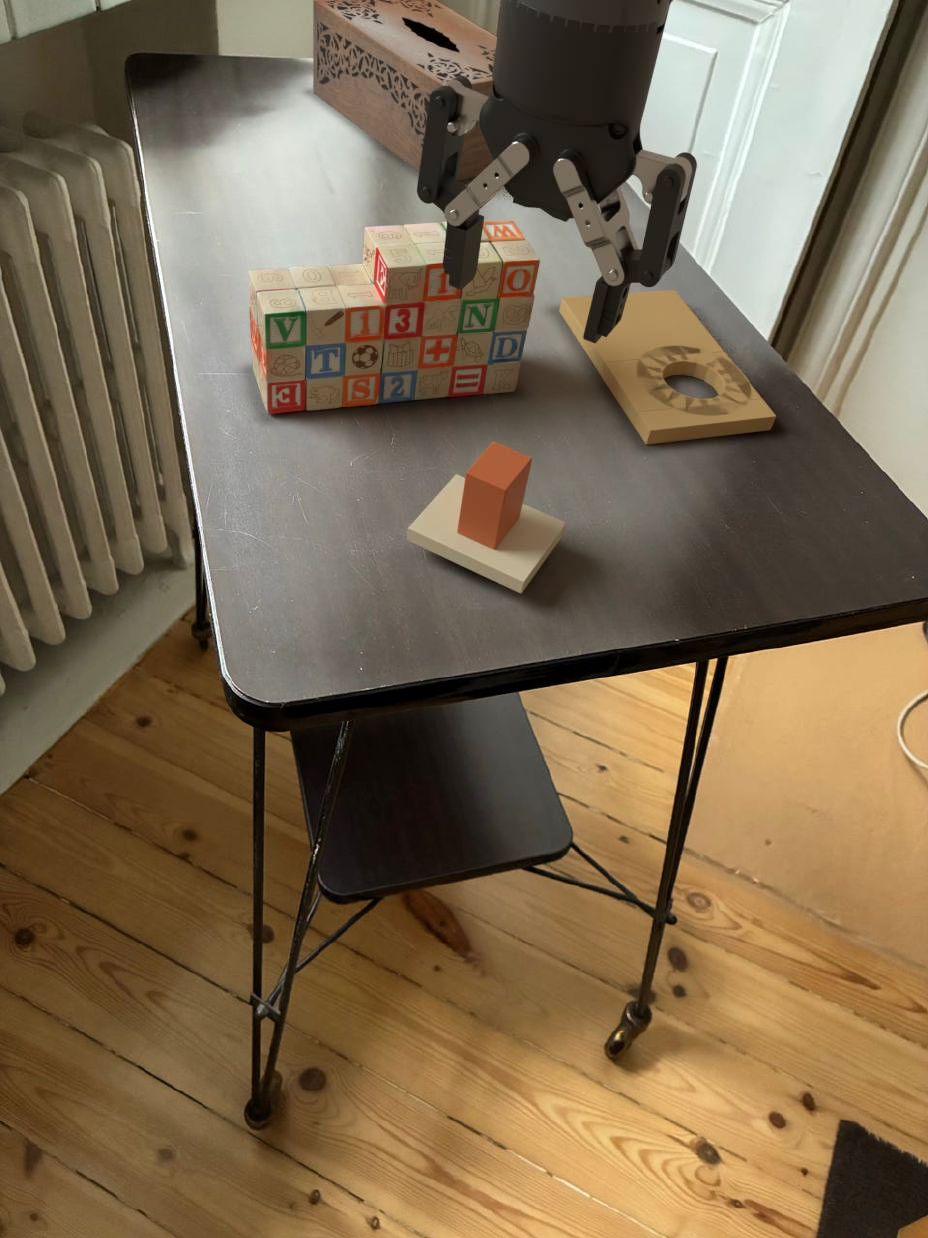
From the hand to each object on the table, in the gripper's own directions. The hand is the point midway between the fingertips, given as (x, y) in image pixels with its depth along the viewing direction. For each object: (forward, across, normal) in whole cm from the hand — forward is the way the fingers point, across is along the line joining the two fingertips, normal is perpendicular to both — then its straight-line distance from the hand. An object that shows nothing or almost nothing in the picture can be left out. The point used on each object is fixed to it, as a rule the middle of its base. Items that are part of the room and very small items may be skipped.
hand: (527, 308), depth 56 cm
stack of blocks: (+20, -16, +13) cm, 29 cm away
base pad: (+20, +2, +30) cm, 36 cm away
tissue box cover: (+20, -39, +59) cm, 73 cm away
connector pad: (+20, 0, 0) cm, 20 cm away
